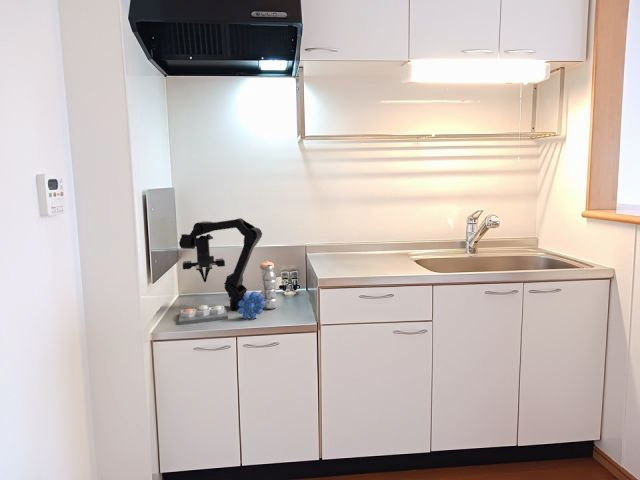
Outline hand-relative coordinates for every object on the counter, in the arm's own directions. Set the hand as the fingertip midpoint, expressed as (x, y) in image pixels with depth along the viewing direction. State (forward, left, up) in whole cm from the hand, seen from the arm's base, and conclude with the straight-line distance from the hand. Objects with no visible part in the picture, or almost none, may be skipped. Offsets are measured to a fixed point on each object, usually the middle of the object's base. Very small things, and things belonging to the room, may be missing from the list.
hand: (204, 281), depth 202 cm
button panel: (+2, +15, -12) cm, 19 cm away
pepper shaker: (-30, -3, -12) cm, 33 cm away
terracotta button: (+8, +15, -11) cm, 20 cm away
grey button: (+2, +15, -9) cm, 18 cm away
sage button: (-4, +15, -11) cm, 19 cm away
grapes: (-18, +24, -12) cm, 32 cm away
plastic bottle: (-28, +13, -12) cm, 33 cm away
